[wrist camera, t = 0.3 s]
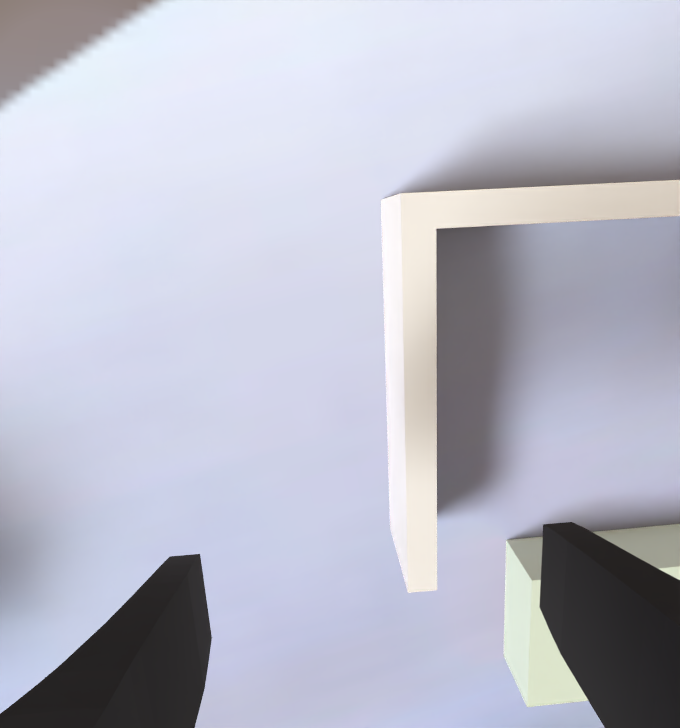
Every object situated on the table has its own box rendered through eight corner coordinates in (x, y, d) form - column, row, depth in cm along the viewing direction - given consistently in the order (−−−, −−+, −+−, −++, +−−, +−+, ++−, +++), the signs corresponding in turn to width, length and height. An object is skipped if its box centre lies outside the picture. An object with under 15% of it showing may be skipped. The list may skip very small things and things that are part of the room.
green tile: (689, 630, 25) (740, 684, 22) (500, 649, 24) (527, 707, 21) (704, 516, 23) (761, 558, 20) (503, 535, 23) (531, 580, 20)
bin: (826, 492, 23) (932, 547, 19) (389, 527, 22) (407, 592, 18) (892, 174, 19) (1038, 162, 16) (381, 199, 19) (400, 193, 15)
